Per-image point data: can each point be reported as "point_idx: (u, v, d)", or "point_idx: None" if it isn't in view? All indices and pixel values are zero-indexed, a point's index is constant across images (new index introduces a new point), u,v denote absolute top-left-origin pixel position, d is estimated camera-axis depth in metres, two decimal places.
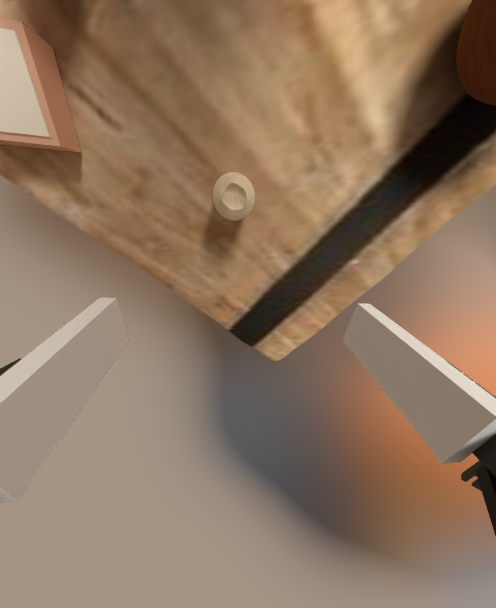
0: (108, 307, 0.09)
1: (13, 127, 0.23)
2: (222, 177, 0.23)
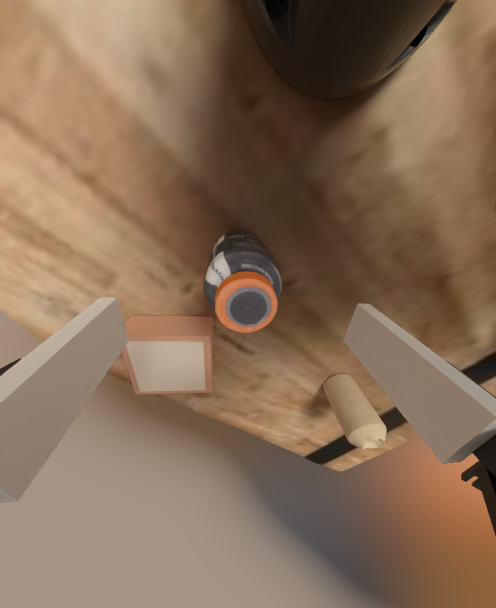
0: (108, 307, 0.09)
1: (177, 388, 0.25)
2: (363, 428, 0.26)
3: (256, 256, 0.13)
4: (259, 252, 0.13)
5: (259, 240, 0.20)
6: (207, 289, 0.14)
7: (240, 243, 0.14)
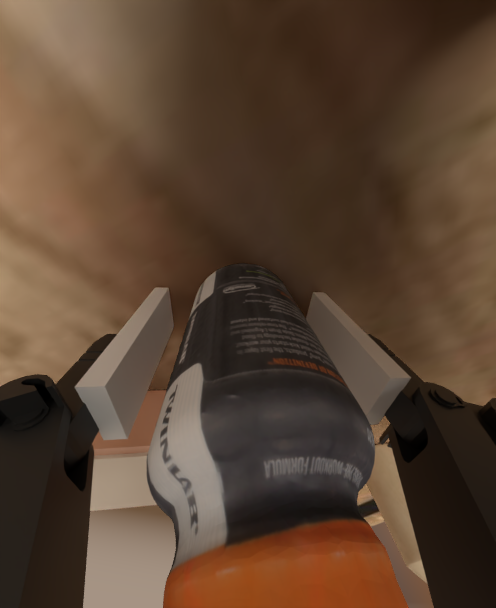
0: (165, 295, 0.10)
1: (144, 503, 0.16)
2: None
3: (319, 422, 0.04)
4: (320, 388, 0.04)
5: (280, 280, 0.11)
6: (152, 496, 0.04)
7: (253, 331, 0.05)
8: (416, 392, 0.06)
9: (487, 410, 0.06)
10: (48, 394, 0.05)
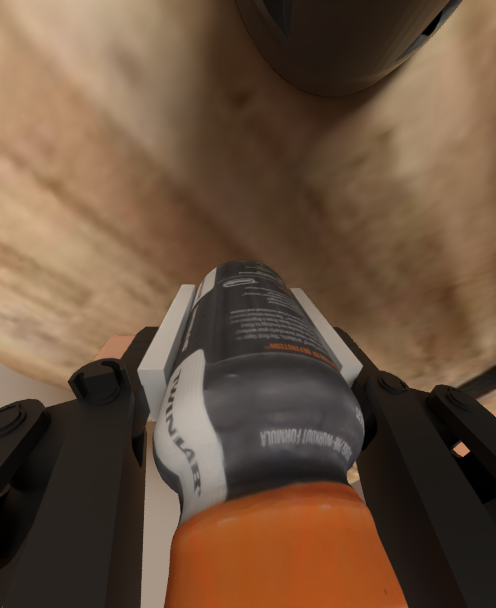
0: (193, 291, 0.11)
1: None
2: None
3: (310, 398, 0.04)
4: (312, 369, 0.04)
5: None
6: (158, 469, 0.05)
7: (251, 320, 0.06)
8: (367, 381, 0.06)
9: (432, 398, 0.06)
10: (118, 376, 0.06)
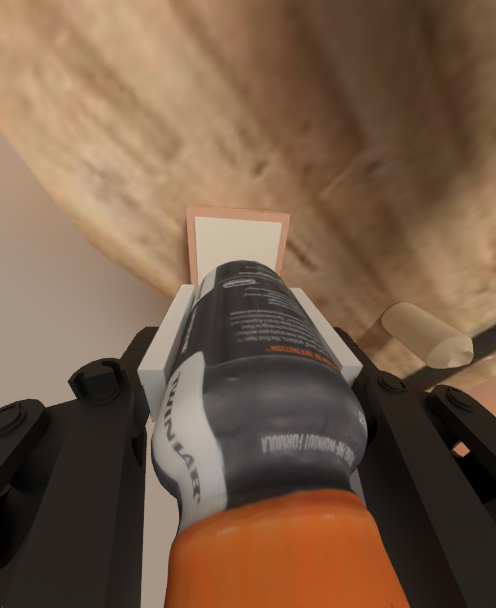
0: (192, 291, 0.11)
1: None
2: (449, 341, 0.23)
3: (312, 403, 0.04)
4: (314, 372, 0.04)
5: (279, 277, 0.11)
6: None
7: (251, 321, 0.06)
8: (367, 381, 0.06)
9: (432, 398, 0.06)
10: (118, 376, 0.06)
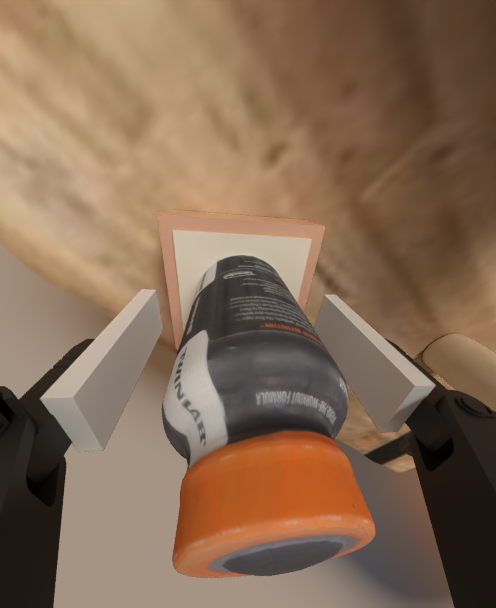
0: (151, 297, 0.10)
1: None
2: None
3: (299, 366, 0.05)
4: (301, 344, 0.05)
5: (276, 271, 0.12)
6: (167, 433, 0.05)
7: (249, 305, 0.06)
8: (441, 399, 0.06)
9: None
10: (8, 407, 0.05)
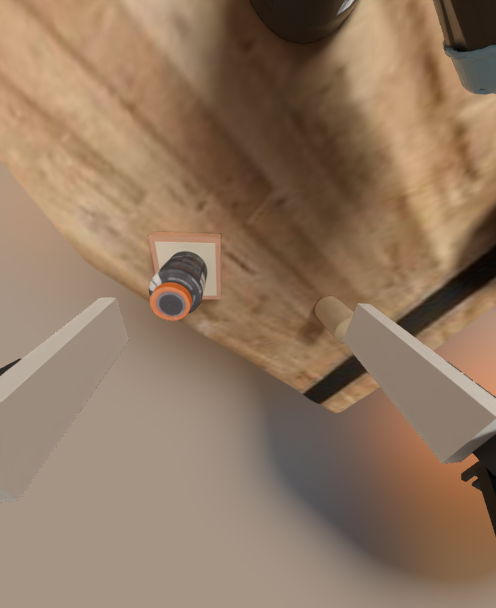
0: (108, 307, 0.09)
1: None
2: (345, 321, 0.32)
3: (178, 272, 0.20)
4: (181, 269, 0.21)
5: (200, 257, 0.28)
6: (150, 294, 0.21)
7: (173, 263, 0.22)
8: None
9: None
10: None
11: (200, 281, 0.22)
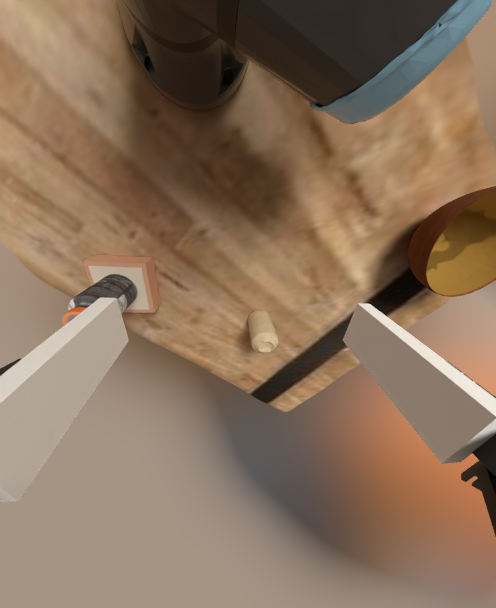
0: (108, 307, 0.09)
1: (128, 307, 0.36)
2: (258, 335, 0.37)
3: (89, 298, 0.26)
4: (93, 295, 0.26)
5: (128, 279, 0.33)
6: None
7: (91, 289, 0.27)
8: None
9: None
10: None
11: None
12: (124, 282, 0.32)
